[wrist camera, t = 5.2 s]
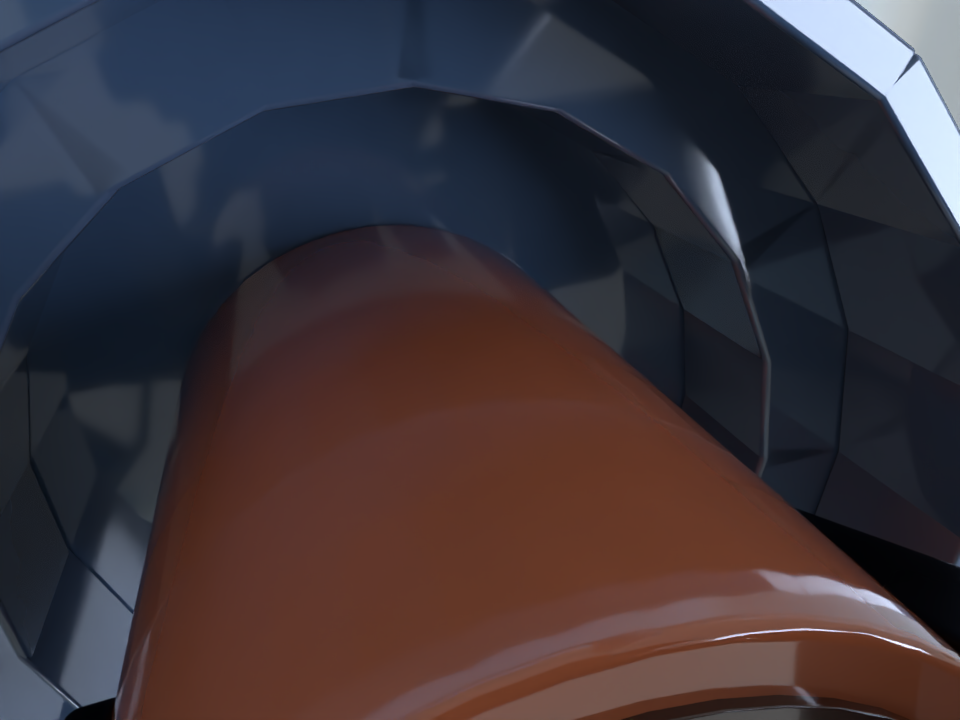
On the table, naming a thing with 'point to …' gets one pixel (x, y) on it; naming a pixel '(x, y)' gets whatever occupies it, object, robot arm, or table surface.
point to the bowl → (479, 216)
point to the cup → (480, 523)
